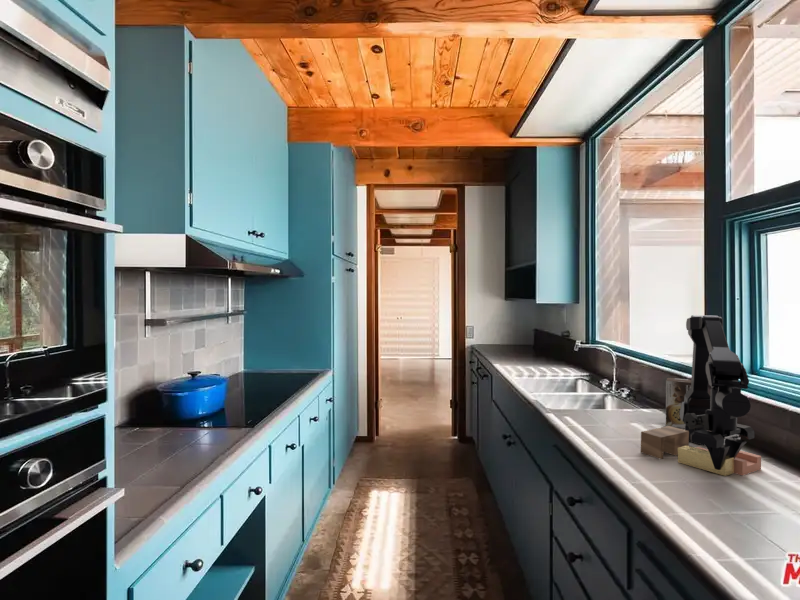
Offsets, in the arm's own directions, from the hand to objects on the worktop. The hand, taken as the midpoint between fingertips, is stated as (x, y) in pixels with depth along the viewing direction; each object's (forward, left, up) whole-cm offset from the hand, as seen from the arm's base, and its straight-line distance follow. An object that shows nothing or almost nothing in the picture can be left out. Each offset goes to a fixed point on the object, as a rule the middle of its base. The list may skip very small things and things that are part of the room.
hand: (722, 468), depth 121 cm
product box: (-34, -31, -2) cm, 46 cm away
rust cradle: (-8, -3, -2) cm, 9 cm away
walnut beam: (-3, -17, -1) cm, 17 cm away
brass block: (0, -4, -1) cm, 4 cm away
